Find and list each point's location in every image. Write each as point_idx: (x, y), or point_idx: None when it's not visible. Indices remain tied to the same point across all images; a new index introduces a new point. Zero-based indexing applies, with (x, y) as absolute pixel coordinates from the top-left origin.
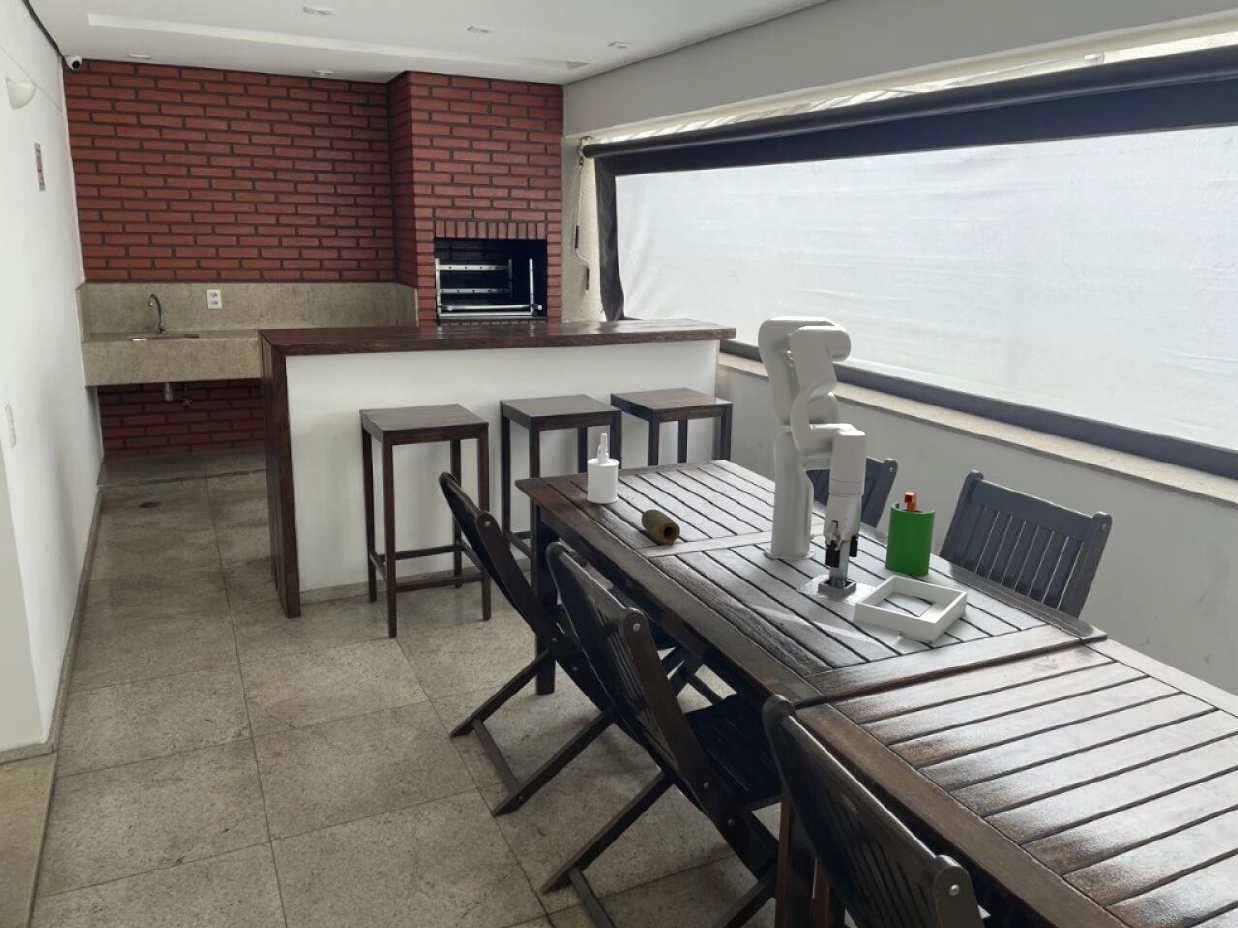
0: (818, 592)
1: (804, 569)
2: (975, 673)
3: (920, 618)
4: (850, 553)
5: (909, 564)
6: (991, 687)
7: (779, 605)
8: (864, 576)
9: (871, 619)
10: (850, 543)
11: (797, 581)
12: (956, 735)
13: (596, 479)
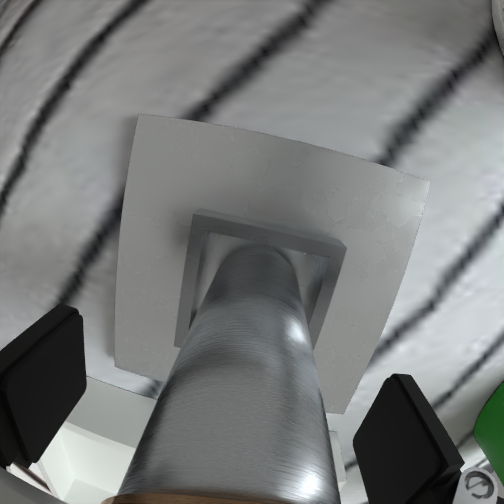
0: (167, 219)
1: (476, 103)
2: (39, 485)
3: (55, 491)
4: (369, 431)
5: (490, 446)
6: None
7: (32, 114)
8: (473, 333)
9: None
10: (392, 485)
11: (326, 84)
12: None
13: None
